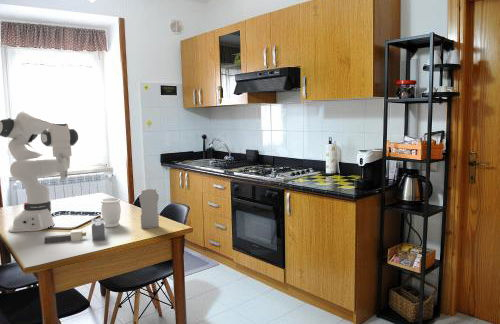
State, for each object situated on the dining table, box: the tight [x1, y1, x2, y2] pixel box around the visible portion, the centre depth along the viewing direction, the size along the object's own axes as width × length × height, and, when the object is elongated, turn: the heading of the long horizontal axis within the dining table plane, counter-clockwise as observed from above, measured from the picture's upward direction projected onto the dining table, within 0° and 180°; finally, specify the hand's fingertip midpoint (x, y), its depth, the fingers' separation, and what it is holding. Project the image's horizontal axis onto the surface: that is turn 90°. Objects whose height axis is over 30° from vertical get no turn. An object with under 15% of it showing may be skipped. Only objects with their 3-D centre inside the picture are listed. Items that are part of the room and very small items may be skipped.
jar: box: [100, 197, 122, 228], centre depth 222 cm, size 11×10×15 cm
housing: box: [91, 217, 106, 242], centre depth 202 cm, size 6×13×9 cm, turn 21°
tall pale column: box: [138, 188, 160, 230], centre depth 218 cm, size 11×4×22 cm, turn 116°
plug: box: [43, 228, 87, 244], centre depth 196 cm, size 19×4×4 cm, turn 111°
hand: (64, 179), depth 207 cm, fingers open, 8 cm apart
